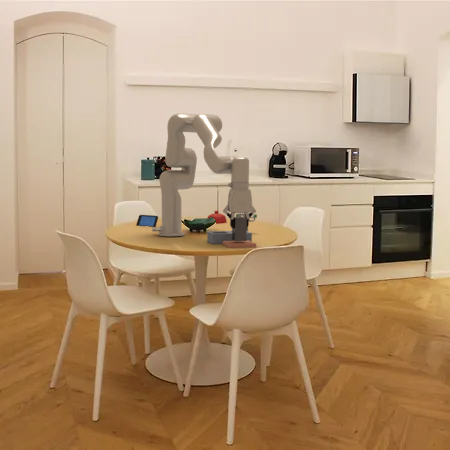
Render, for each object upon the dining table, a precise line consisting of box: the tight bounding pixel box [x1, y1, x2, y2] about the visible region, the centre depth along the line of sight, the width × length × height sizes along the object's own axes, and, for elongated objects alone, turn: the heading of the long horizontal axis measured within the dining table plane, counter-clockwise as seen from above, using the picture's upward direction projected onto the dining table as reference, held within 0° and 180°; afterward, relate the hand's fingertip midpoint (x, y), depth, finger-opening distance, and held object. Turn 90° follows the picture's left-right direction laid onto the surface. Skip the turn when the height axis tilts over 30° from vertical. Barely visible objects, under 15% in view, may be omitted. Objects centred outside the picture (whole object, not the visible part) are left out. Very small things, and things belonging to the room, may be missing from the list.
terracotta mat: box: [222, 240, 257, 249], centre depth 282 cm, size 12×11×2 cm
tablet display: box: [135, 214, 159, 228], centre depth 344 cm, size 12×10×7 cm
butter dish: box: [207, 210, 227, 225], centre depth 366 cm, size 12×12×8 cm
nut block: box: [231, 216, 247, 241], centre depth 281 cm, size 5×5×10 cm
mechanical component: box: [235, 213, 258, 232], centre depth 327 cm, size 3×10×10 cm, turn 79°
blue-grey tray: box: [206, 230, 253, 245], centre depth 294 cm, size 18×10×4 cm, turn 105°
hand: (239, 227), depth 281 cm, fingers closed on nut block, 5 cm apart
